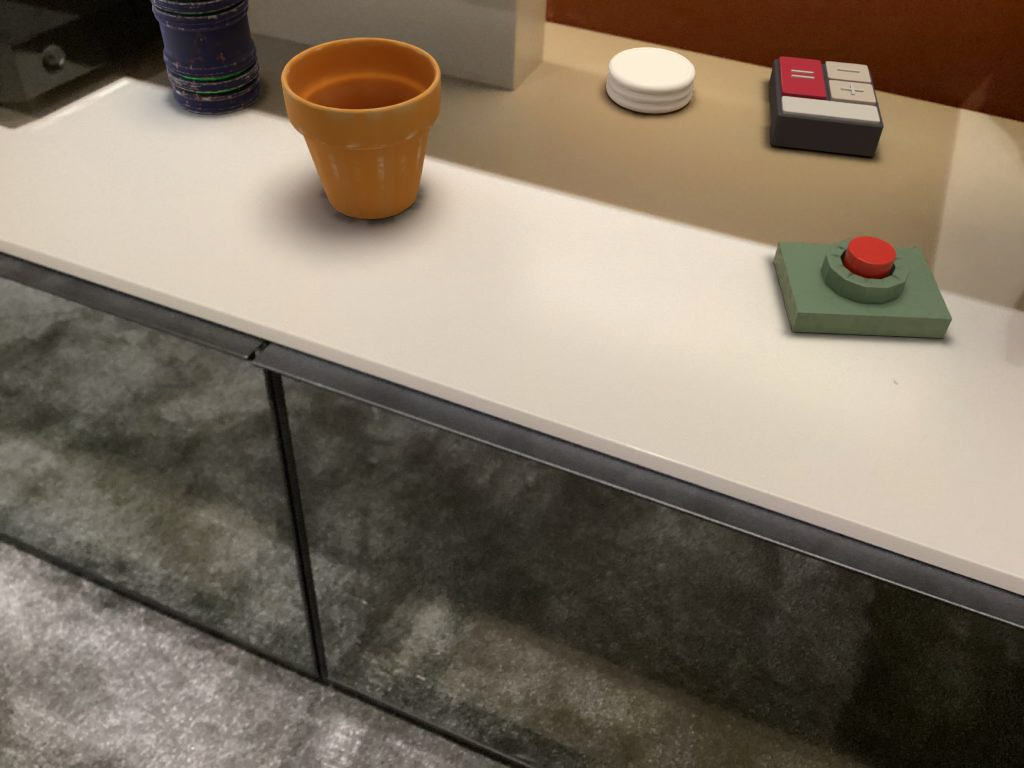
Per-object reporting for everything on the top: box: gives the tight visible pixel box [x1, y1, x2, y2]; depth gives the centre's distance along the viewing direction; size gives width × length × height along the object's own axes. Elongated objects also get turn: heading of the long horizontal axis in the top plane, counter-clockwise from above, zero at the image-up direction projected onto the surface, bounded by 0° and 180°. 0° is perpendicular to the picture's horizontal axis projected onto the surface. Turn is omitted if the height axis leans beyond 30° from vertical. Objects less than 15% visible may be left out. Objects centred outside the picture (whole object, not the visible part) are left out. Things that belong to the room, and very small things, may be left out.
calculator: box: [768, 55, 885, 157], centre depth 107 cm, size 11×4×15 cm
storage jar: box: [150, 0, 263, 115], centre depth 104 cm, size 10×10×15 cm
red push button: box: [843, 235, 896, 279], centre depth 83 cm, size 4×4×2 cm
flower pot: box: [280, 37, 442, 220], centre depth 91 cm, size 14×14×13 cm
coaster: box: [605, 46, 697, 115], centre depth 110 cm, size 10×10×4 cm
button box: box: [773, 238, 953, 339], centre depth 85 cm, size 13×10×4 cm
